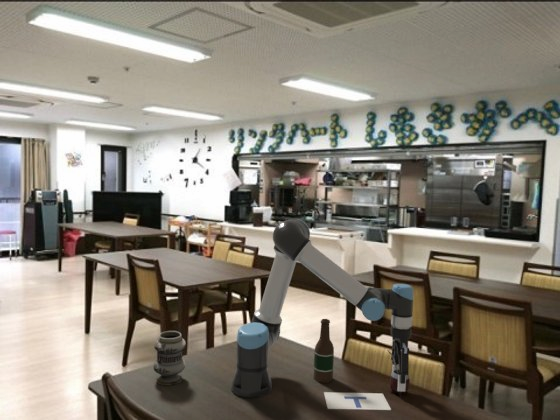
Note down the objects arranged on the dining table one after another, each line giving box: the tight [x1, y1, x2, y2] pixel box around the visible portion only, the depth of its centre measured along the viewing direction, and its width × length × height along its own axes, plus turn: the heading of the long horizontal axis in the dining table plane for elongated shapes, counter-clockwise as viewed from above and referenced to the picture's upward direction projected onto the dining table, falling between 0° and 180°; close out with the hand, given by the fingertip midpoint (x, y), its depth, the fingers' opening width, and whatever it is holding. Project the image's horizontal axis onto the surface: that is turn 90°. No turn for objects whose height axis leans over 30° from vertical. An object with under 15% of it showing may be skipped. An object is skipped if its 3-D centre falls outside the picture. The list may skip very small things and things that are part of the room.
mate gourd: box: [387, 349, 411, 398], centre depth 170 cm, size 8×8×15 cm
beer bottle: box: [313, 318, 335, 384], centre depth 180 cm, size 8×8×24 cm
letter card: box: [323, 391, 392, 411], centre depth 163 cm, size 22×12×1 cm, turn 91°
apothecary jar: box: [152, 330, 187, 386], centre depth 175 cm, size 12×12×18 cm
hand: (398, 386), depth 170 cm, fingers closed on mate gourd, 7 cm apart
